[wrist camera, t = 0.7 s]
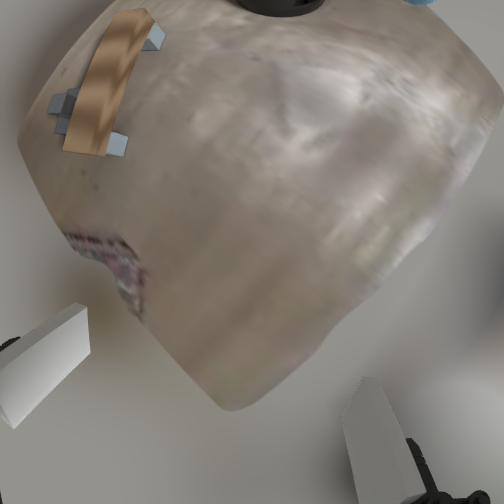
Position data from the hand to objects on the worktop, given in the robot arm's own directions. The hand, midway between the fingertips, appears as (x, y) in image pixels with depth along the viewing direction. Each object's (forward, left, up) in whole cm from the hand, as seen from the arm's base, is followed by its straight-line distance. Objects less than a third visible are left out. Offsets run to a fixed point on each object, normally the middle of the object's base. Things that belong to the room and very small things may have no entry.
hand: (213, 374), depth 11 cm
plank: (-19, -25, -22) cm, 38 cm away
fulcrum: (-15, -33, -26) cm, 44 cm away
